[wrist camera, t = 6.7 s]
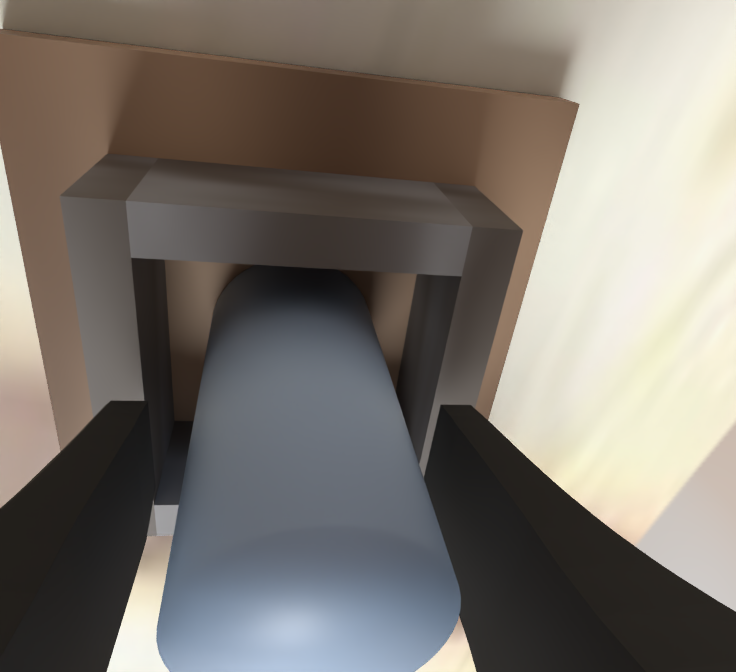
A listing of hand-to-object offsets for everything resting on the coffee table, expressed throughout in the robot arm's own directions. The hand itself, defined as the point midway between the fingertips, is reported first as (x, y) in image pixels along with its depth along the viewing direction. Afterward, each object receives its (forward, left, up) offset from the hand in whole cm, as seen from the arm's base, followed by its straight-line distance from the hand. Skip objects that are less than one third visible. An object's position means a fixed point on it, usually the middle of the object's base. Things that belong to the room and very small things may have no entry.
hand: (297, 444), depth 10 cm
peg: (0, 0, -4) cm, 4 cm away
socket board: (0, 0, -5) cm, 5 cm away
